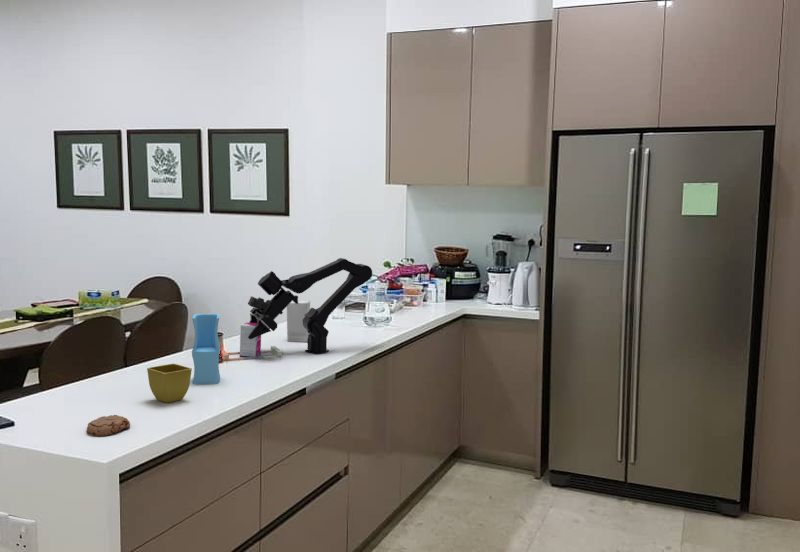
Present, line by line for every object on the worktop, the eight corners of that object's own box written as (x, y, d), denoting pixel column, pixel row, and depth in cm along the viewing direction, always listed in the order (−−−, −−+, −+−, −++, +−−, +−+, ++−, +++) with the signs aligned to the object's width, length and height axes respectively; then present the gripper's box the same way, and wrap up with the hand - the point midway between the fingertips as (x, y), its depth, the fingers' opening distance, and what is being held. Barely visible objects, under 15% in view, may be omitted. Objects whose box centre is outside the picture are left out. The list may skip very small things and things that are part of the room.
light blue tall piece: (192, 384, 219) (191, 318, 217) (194, 377, 227) (193, 313, 225) (219, 383, 221) (219, 318, 218) (220, 377, 228) (220, 313, 226)
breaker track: (274, 351, 267) (274, 345, 267) (282, 357, 258) (282, 351, 257) (219, 354, 259) (219, 349, 259) (224, 361, 250) (224, 355, 249)
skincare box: (310, 339, 290) (311, 300, 288) (307, 342, 284) (307, 303, 282) (290, 338, 291) (290, 299, 289) (285, 341, 284) (286, 302, 283)
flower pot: (174, 393, 209) (174, 362, 208) (192, 399, 203) (192, 368, 202) (146, 399, 202) (146, 367, 201) (164, 406, 196) (164, 373, 195)
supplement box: (255, 358, 255) (255, 325, 254) (239, 357, 256) (239, 324, 255) (261, 354, 260) (261, 323, 259) (245, 353, 262) (246, 322, 260)
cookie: (80, 438, 170) (80, 425, 170) (91, 424, 181) (91, 412, 180) (125, 436, 172) (125, 424, 172) (133, 423, 183) (133, 411, 182)
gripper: (256, 285, 266) (225, 316, 262) (268, 292, 249) (235, 325, 245) (277, 306, 270) (246, 337, 266) (290, 314, 253) (258, 347, 250)
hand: (246, 336), depth 257 cm, fingers closed on supplement box, 8 cm apart
